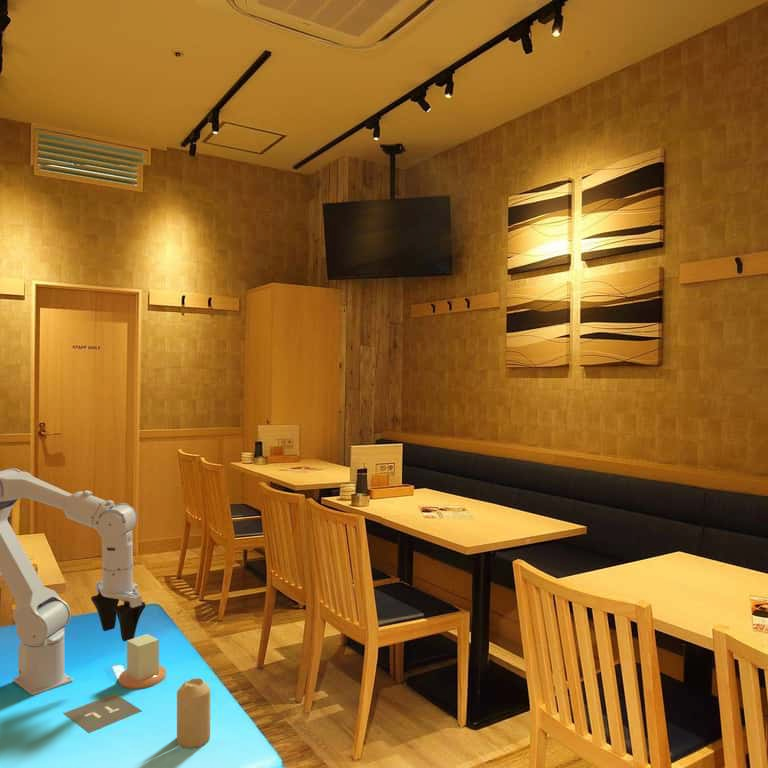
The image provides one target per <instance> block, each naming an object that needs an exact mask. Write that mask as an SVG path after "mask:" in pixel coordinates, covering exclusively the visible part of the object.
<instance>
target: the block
mask: <svg viewBox="0 0 768 768" xmlns="http://www.w3.org/2000/svg"><path fill="white" fill-rule="evenodd" d="M159 665H160V639H158V638H157V637H154V636H153V635H150V634H148V633H146V634H143V635H139V636H136V637H134V638H133V639H130V640H127V641H126V670H127V675H129V676H131V677H132V678H134V679H136V680H137V681H140V680H143V679H146V678H148V677H151V676H154V675H156V674H159Z"/></svg>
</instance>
